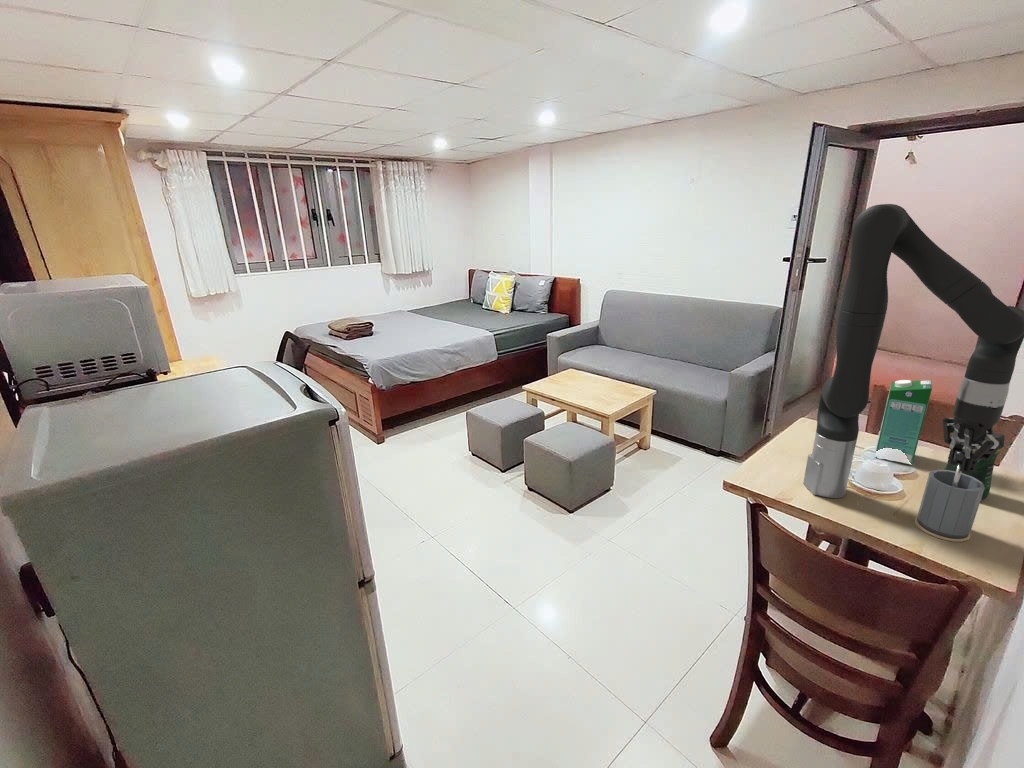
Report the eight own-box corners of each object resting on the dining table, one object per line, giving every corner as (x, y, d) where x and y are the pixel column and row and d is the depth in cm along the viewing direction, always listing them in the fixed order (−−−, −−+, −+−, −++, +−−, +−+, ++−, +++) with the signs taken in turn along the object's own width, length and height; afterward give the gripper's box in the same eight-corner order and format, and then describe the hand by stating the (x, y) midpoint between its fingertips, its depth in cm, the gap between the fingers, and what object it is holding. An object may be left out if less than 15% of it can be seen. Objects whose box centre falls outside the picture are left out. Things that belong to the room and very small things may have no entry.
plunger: (938, 530, 109) (960, 459, 103) (918, 514, 116) (937, 445, 109) (969, 531, 109) (993, 459, 102) (947, 514, 115) (968, 445, 109)
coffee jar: (992, 495, 124) (1013, 432, 118) (977, 504, 121) (998, 440, 115) (947, 479, 132) (965, 419, 126) (932, 486, 129) (950, 426, 123)
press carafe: (934, 541, 109) (949, 491, 104) (904, 515, 118) (917, 468, 114) (981, 542, 108) (998, 491, 103) (948, 516, 117) (962, 469, 112)
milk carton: (876, 446, 152) (893, 374, 144) (912, 454, 147) (931, 379, 138) (874, 457, 146) (891, 383, 137) (911, 465, 140) (932, 388, 132)
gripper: (937, 388, 109) (920, 453, 114) (989, 411, 95) (966, 484, 101) (973, 387, 108) (953, 453, 113) (1030, 411, 95) (1005, 484, 100)
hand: (960, 467), depth 107 cm, fingers closed on plunger, 3 cm apart
